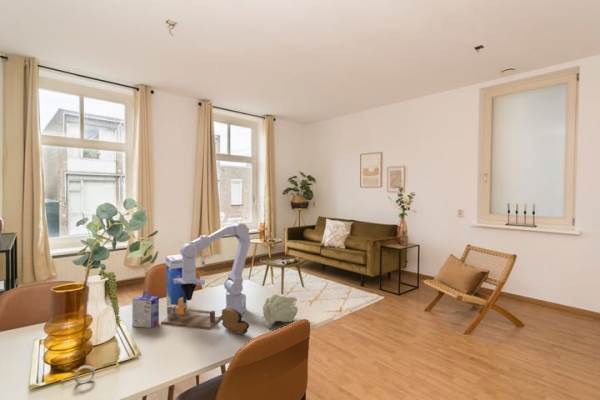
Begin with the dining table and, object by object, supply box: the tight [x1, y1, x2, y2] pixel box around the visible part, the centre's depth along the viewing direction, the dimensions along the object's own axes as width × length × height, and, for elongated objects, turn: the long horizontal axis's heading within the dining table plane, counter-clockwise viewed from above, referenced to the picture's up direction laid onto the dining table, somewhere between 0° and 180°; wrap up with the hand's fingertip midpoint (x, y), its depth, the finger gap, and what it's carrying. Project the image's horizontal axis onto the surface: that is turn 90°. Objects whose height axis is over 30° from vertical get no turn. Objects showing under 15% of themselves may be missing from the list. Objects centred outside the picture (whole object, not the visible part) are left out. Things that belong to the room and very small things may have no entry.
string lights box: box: [165, 253, 188, 307], centre depth 155 cm, size 13×8×26 cm, turn 34°
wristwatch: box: [74, 365, 96, 385], centre depth 95 cm, size 3×5×5 cm, turn 115°
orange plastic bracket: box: [175, 297, 188, 314], centre depth 139 cm, size 4×3×7 cm
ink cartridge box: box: [131, 290, 160, 329], centre depth 134 cm, size 10×6×14 cm, turn 78°
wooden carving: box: [218, 307, 250, 336], centre depth 128 cm, size 16×5×10 cm, turn 59°
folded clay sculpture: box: [262, 294, 299, 329], centre depth 137 cm, size 18×13×16 cm
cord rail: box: [160, 304, 221, 330], centre depth 138 cm, size 24×10×6 cm, turn 79°
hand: (189, 299), depth 138 cm, fingers closed
